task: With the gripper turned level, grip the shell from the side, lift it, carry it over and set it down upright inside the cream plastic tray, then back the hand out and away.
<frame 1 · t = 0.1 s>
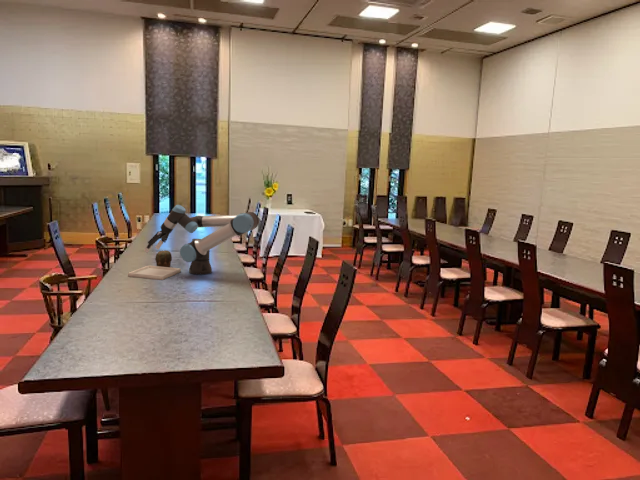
hand: (151, 250, 313), 15 cm above the table, tool tilted 35°, fingers open, 13 cm apart
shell: (163, 267, 331), on the table
tray: (155, 274, 311), on the table
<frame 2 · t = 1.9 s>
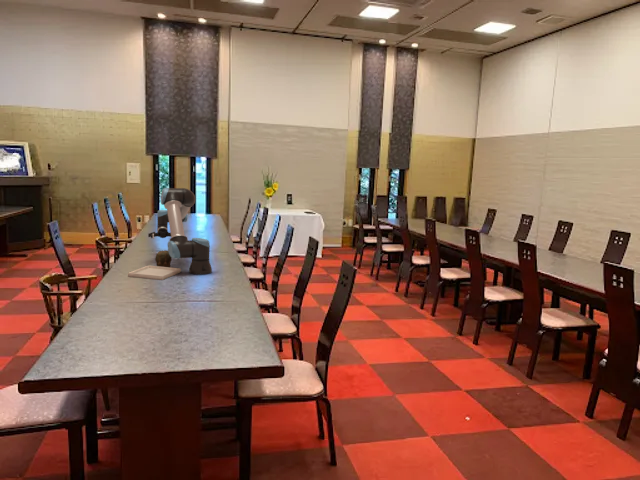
hand: (163, 237, 337), 20 cm above the table, tool horizontal, fingers open, 13 cm apart
nothing on the table moved.
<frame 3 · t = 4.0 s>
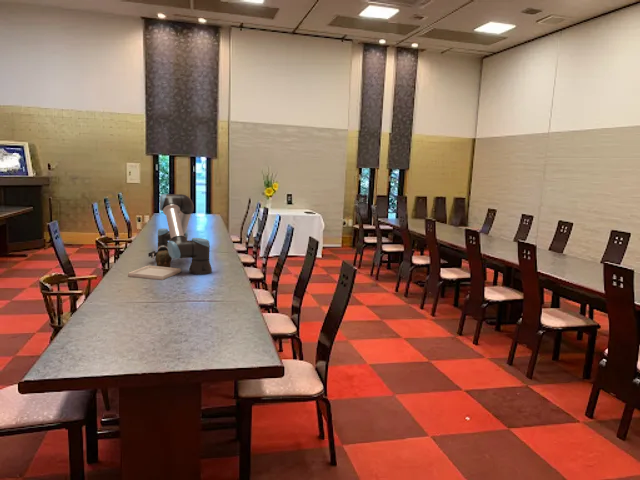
hand: (163, 256, 336), 6 cm above the table, tool horizontal, fingers open, 13 cm apart
nothing on the table moved.
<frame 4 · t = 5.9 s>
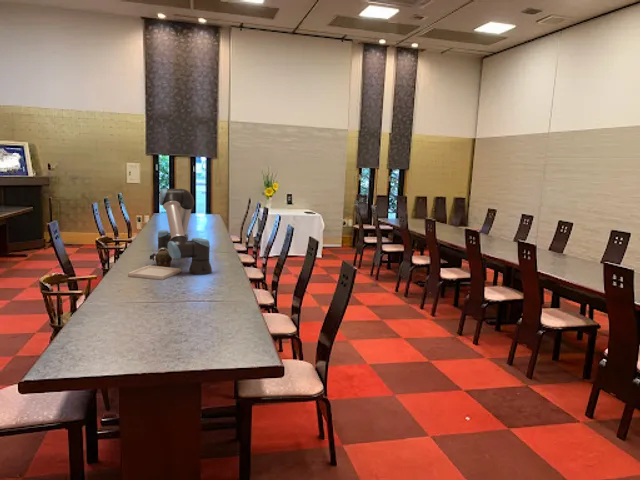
hand: (163, 259, 326), 6 cm above the table, tool horizontal, fingers closed on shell, 11 cm apart
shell: (163, 267, 331), on the table, touching gripper
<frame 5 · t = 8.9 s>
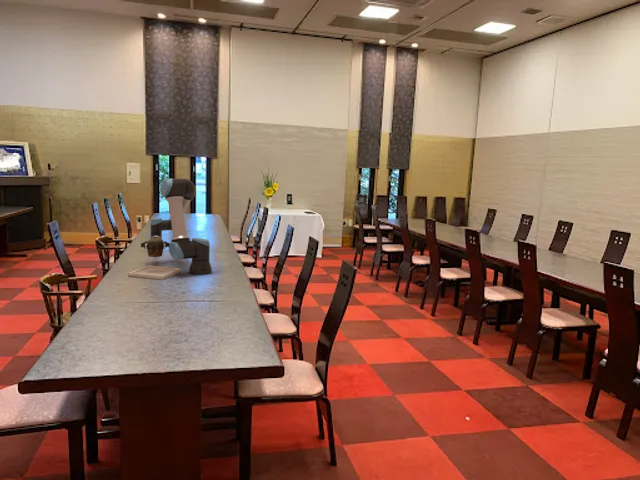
hand: (155, 247, 309), 18 cm above the table, tool horizontal, fingers closed on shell, 11 cm apart
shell: (155, 256, 314), point 11 cm above the table, touching gripper
when the fingers open (9 cm above the table, at t = 11.6 s): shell drops 1 cm, resting on tray.
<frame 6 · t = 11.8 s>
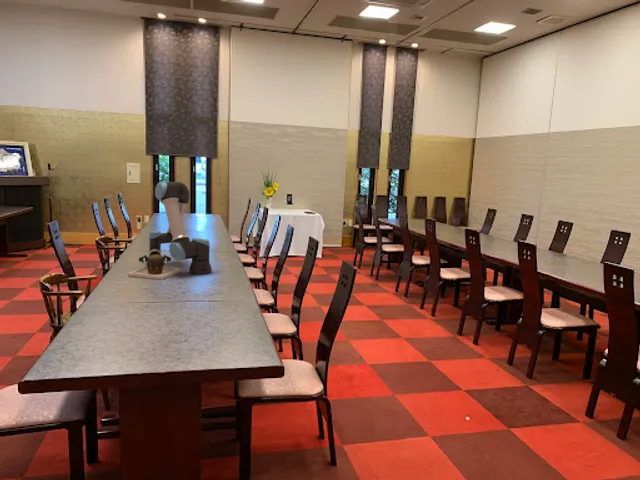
hand: (155, 262, 306), 9 cm above the table, tool horizontal, fingers open, 13 cm apart
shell: (155, 272, 311), point 1 cm above the table, touching tray
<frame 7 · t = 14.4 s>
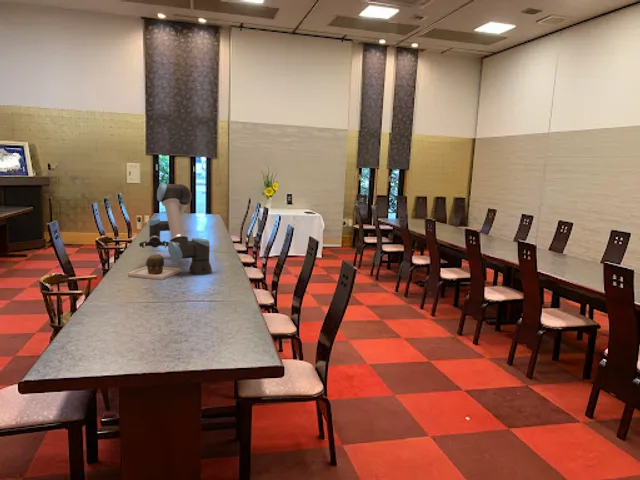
hand: (155, 246, 322), 16 cm above the table, tool horizontal, fingers open, 13 cm apart
nothing on the table moved.
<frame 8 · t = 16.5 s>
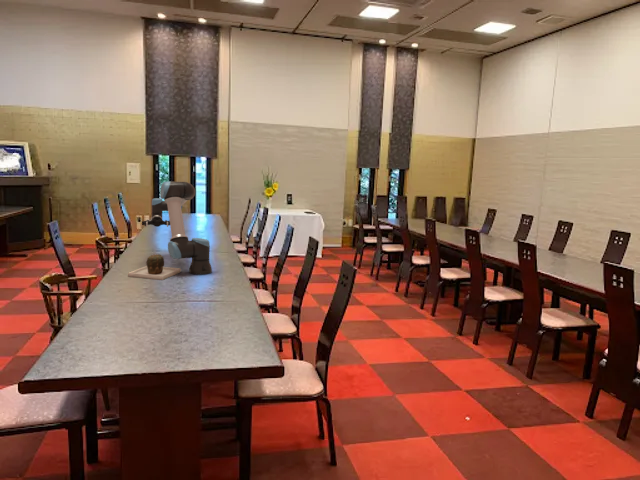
hand: (157, 224, 326), 30 cm above the table, tool horizontal, fingers open, 13 cm apart
nothing on the table moved.
at the end: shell inside the target area on the tray (0.2 cm from its centre), point 1.3 cm above the tray's base; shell tilted 0°; the gripper is holding nothing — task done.
